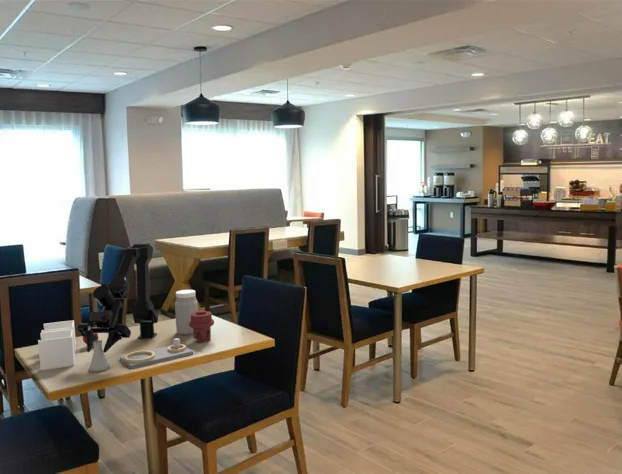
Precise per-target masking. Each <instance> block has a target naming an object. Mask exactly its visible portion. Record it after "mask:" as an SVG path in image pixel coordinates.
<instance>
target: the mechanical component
mask: <svg viewBox="0 0 622 474" xmlns="http://www.w3.org/2000/svg"><path fill="white" fill-rule="evenodd" d="M212 317H213V316H212V312H211V311H207V310H205V309H200V310H199V309H198V311H196V312H194V313H192V314H191V321H190V322H189V326H190V327H191V328H193V334H192V336H193V339H195V340H197V343H199V344H202V343H203V342H207V341H210V340H211V337H212V331H211V328H212V327H213V326H214V325H215V321H214V319H213V318H212Z"/></svg>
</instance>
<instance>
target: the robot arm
mask: <svg viewBox="0 0 622 474" xmlns="http://www.w3.org/2000/svg"><path fill="white" fill-rule="evenodd" d="M153 253H154V247H153V246H152V245H151V243H147V242H146V243H134V244H133V245H131V246H128V247H127V248H125V249H124V255H123V258H122V260H121V263H120V265H119V268H118V269H117V270H118V271H117V272H116V276H115V277H114V278H112V279H111V280H110V282H109V283H101V284H100V286H98V287H97V288H95V289H94V290H93V292H92V297H93V298H94V299H95V300H96V302H97V303H98V304H99V305H100V306H101V307H103V308H102V310H101V311H91V312H90V315H89V322H93V324H94V326H91V324H90V323H84V322H82V323H80V322H79V323H78V324H77V325H76V328H75V331H77V332H78V334H79V335H80V336H82V338H83V337H86V338H87V344H86V352H87V353H90V352H91V351H92V349H93V348H94V344H93V342H94V341H96V337H95V336H94V334H95V333H97V334H98V333H100V334H101V333H102V334H107V335H108V336H107V338H106V341H105V344H104V347H103V352H104V354H105V353H106V354H107V352H108V351H109V350H110V349H111V348H112V347H113V346H114V345H115V344H116V343H118V341H121V340H122V338H123V339H129V338H131V336H132V335H131V334H132V331H131V329H130V328H129V326H127V324H125V323H118V322H119V319H118V315H119V312H120V310H123V309H124V305H123V303H122V301H120V299H121V300H124V299H127V298H128V296H129V294H130V288H131V286H130V283H129V282H130V278H131V276H132V274H133V271H134V268H135V270H136V298H137V299H136V302H134V304H132V319H133V322H134V324H139V333H140V334H139V336H138V337H137V339H142V340H143V339H154V338H155V337H156V336H157V335H158V333H157V332H155V324H156V323H158V321H159V314H158V313H157V312H156V311H155V306H154V303H153V301H151V299H150V279H149V277H150V274H149V271H150V270H149V269H150V268H149V264H150V262H151V260H152V259H153Z"/></svg>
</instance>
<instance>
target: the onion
mask: <svg viewBox="0 0 622 474" xmlns="http://www.w3.org/2000/svg"><path fill="white" fill-rule="evenodd" d="M94 336H95V337H96V341H98V340H99V334H98V333H95V334H94ZM82 341H83V342H84V344H85V345H87V338H86V337H83V336H82Z"/></svg>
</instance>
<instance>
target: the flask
mask: <svg viewBox="0 0 622 474" xmlns="http://www.w3.org/2000/svg"><path fill="white" fill-rule="evenodd" d="M93 344H94V345H93V354H92V357H91V361H90V364H89V368H88V370H89V371H88V372H94V373H95V372H96V373H97V372H103V371H107V370H108V369H110V368H111V366H110V363H109V361H108V359H107V357H106V354H105V353H104V352H103V351H104V349H103V347H102V346H103V345H102V344H103V340H101V339H100V340H99V339H98V341H94V342H93Z"/></svg>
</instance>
